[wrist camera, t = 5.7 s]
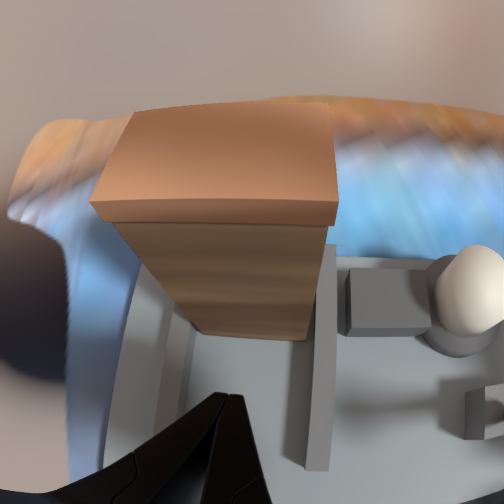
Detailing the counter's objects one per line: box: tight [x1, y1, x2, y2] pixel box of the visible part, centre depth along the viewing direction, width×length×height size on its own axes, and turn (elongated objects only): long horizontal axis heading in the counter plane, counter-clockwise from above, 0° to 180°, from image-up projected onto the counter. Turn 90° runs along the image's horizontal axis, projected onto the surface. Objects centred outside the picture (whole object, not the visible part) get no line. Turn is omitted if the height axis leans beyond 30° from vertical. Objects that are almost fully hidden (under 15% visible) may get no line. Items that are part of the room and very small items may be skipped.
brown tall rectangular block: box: [89, 102, 339, 342], centre depth 11 cm, size 3×5×11 cm, turn 84°
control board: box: [103, 244, 504, 504], centre depth 13 cm, size 14×26×4 cm, turn 84°
